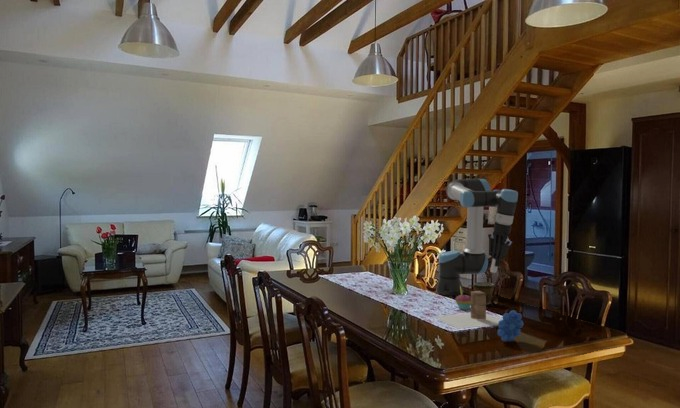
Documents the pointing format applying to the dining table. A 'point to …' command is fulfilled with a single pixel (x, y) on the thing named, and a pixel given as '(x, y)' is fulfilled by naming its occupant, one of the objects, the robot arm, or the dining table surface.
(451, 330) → the dining table surface
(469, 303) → the cupcake
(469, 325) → the felt mat
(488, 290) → the ceramic cup
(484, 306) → the walnut block
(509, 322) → the grapes
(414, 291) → the dining table surface
